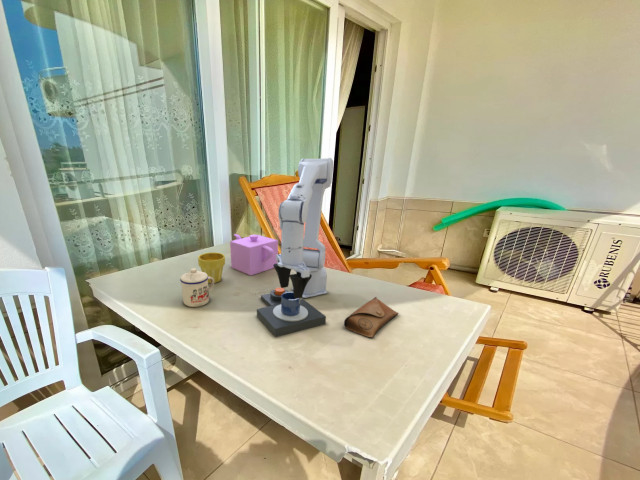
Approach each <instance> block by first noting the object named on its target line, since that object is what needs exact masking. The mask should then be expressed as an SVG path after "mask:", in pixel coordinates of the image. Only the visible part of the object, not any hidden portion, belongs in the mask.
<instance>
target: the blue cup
mask: <svg viewBox="0 0 640 480" xmlns="http://www.w3.org/2000/svg"><path fill="white" fill-rule="evenodd" d="M300 299H301V298H298V299H295V298H294V294H293V291H289V292H285V293H283V294H282V295H281V312H282V314H284V315H287V316H295V315H298V314H299V313H300Z"/></svg>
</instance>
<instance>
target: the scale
mask: <svg viewBox="0 0 640 480" xmlns="http://www.w3.org/2000/svg"><path fill="white" fill-rule="evenodd" d="M256 317H257V318H258V319H259V321H260V322H261V323H262V324H263V325H264V326H265V327H266V329H267V330H268V331H269V332H270V334H272V336H274V337H275V338H277V337H280V336H284V335H288V334H293V333H296V332H300V331H304V330H309V329H311V328H315V327H319V326H323V325H326V323H327V322H326V321H327V316H326V315H325V314H324V313H322V311H320V310H318V309H317V308H316V307H314V306H313V305H312V304H310V303H309V302H308V301H306V300H305V298H300V313H299V314H298V315H295V316H287V315H284V314H282V312H281V304H278V305H273V306H265V307H261V308H257V309H256Z"/></svg>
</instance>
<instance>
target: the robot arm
mask: <svg viewBox="0 0 640 480" xmlns="http://www.w3.org/2000/svg"><path fill="white" fill-rule="evenodd" d="M297 173H298V177H299V181H298V182H297V183H295V184H294V185H293V186H292V188H291V190H290V192H289V194H288V196H287V198H286V199H285V200H283V201H281V202H280V204H279V207H278V213H277V214H278V215H277V216H278V221H279V229H280V230H281V242H280V243H281V246H280V247H281V252H280V253H278V254H277V255H276V261H278V263H276V264H274V265H273V266H274V268H273V269H274V270H275V272H276V274H277V277H278V283H279V286H280V288H284V289H285V288H289V285H290V281H291V285H292V292H293V294H294V298H295V299H298V298H300V299H306V298H312V297H317V296H321V295H327V294H328V291H327V281H328V273H327V270H326V268H325V262H326V249H327V248H326V246H325V244H324V243H322V241H320V240H319V237H320V236H319V235H320V227H321V219H322V218H321V217H322V211H323V210H322V209H323V202H324V195H325V191H326V190H327V189H328V188H331V185H332V183H333V174H334V160H333V158H332V157H327V158H326V157H325V158H301V159H300V160H299V162H298V167H297ZM292 270H293V271H294V272H295V273H293V274H291V273H292Z"/></svg>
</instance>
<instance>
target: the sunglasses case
mask: <svg viewBox="0 0 640 480" xmlns="http://www.w3.org/2000/svg"><path fill="white" fill-rule="evenodd" d="M399 314H400V313H399V312H398V311H395V310H394V309H392V308H391V307H390V306H388V305H387V304H386V303H385V302H383V301H381V300H380V299H379V298H378V297H377V296H374V298H372V299H371V300H369V301H367V302H366V303H364V304H363V305H362V306H360V307H358V309H356V310H355V311H353V312H352V313H351V314H349V316H347V317H346V318H345V319H344V322H343V325H344V328H345V329H347V330H348V331H350V332H353V333H354V334H357V335H361V336H364V337H366V338H374V337H375V336H376V334H377V332H378V331H379V330H381V328H383V327H384V326H385V325H386V324H388V323H389V322H390V321H391V320H393V319H394V318H395V317H397V316H398V315H399Z"/></svg>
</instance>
